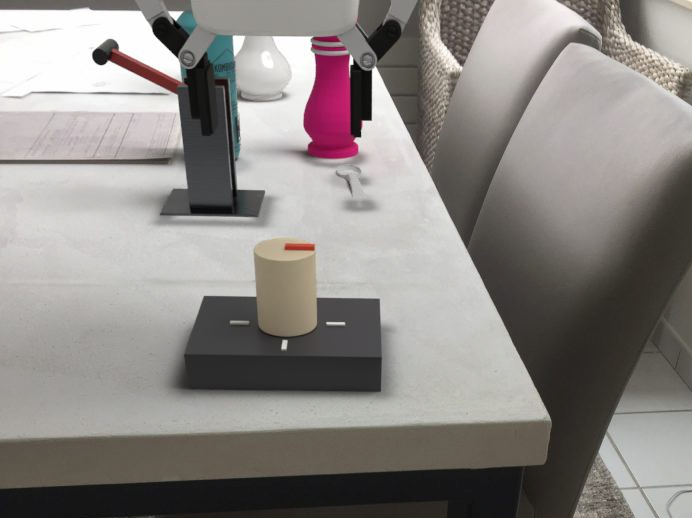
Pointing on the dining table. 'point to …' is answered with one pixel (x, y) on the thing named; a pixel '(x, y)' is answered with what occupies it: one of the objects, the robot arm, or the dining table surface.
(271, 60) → the flower vase
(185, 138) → the lever bracket
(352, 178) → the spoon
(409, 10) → the robot arm
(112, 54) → the red lever
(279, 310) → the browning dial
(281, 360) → the dial panel
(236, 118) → the beverage bottle
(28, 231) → the dining table surface
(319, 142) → the pepper mill
